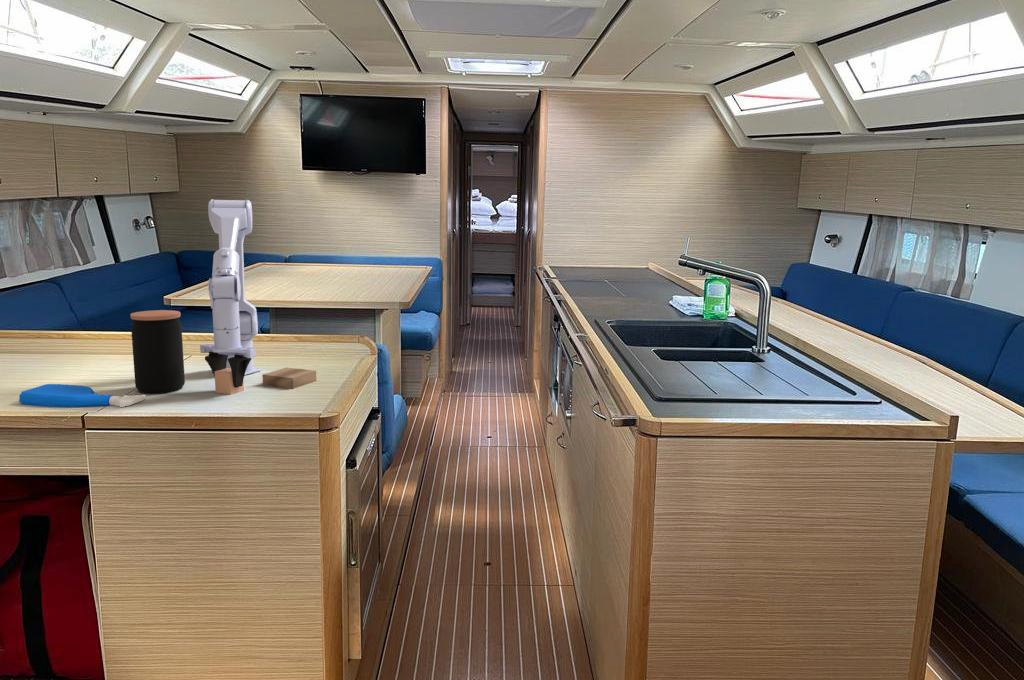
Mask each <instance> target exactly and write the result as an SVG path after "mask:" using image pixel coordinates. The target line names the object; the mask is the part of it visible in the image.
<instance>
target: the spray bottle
mask: <svg viewBox="0 0 1024 680" xmlns="http://www.w3.org/2000/svg"><path fill="white" fill-rule="evenodd" d="M18 397H19V400H18V401H19V402H20V404H22V405H27V406H36V407H48V408H49V407H50V408H51V407H52V408H56V407H57V408H78V407H82V408H83V407H105V406H107V407H108V406H116V407H119V408H120V407H122V408H125V406H126V407H129V406H131V405H134V404H137V403H140V402H142V401H144V400H146V399H147V395H146V394H141V395H127V394H126V395H125V394H124V395H122V396H119V395H118V396H117V395H114V394H105V393H104V394H102V393H101V394H98V393H96V392H95V391H94V390H93V388H91V386H86V385H78V384H77V385H76V384H60V383H47V384H43V385H40V386H36V387H33V388H29V389H26V390H22V391H21V392H20V394H19V396H18Z"/></svg>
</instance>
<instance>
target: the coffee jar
mask: <svg viewBox="0 0 1024 680" xmlns="http://www.w3.org/2000/svg"><path fill="white" fill-rule="evenodd" d="M129 317H130V319H131V320H132V323H131V324H130V329H131V330H130V331H131V344H132V345H131V346H132V358H133V359H132V361H133V374H134V385H135V389H136V390H137V391H138V392H139V393H141V394H144V395H146V394H147V395H159V394H168V393H173V392H178V391H180V390H181V389H182V390H183V387H184V385H185V383H186V381H185V380H186V379H185V378H186V377H185V362H184V348H183V345H184V344H183V329H182V322H181V320H180V317H181V311H178V310H173V309H172V310H170V309H169V310H168V309H167V310H166V309H160V310H159V309H157V310H155V309H153V310H144V311H143V310H142V311H135V312H131V313H130V315H129Z"/></svg>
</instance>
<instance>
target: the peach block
mask: <svg viewBox="0 0 1024 680" xmlns="http://www.w3.org/2000/svg"><path fill="white" fill-rule="evenodd" d="M244 383H245V381H244V379H243V384H242V386H240V387H237V388H236V387H234V385H233V378H232V371H231V368H226V369H222V370H218V371H215V377H214V385H215V387H214V388H215V393H217V394H224V395H225V394H226V395H233V394H238V393H240V392H243V391H245V384H244Z"/></svg>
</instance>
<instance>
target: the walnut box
mask: <svg viewBox="0 0 1024 680" xmlns="http://www.w3.org/2000/svg"><path fill="white" fill-rule="evenodd" d="M315 382H317V370H312V369H303V368H293V367H284V368H281V369H276V370H274V371H270V372H267V373H263V374H262V385H263V386H268V387H276V388H282V389H283V388H284V389H285V388H286V389H297V388H300V387H303V386H306V385H309V384H312V383H315Z"/></svg>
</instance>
